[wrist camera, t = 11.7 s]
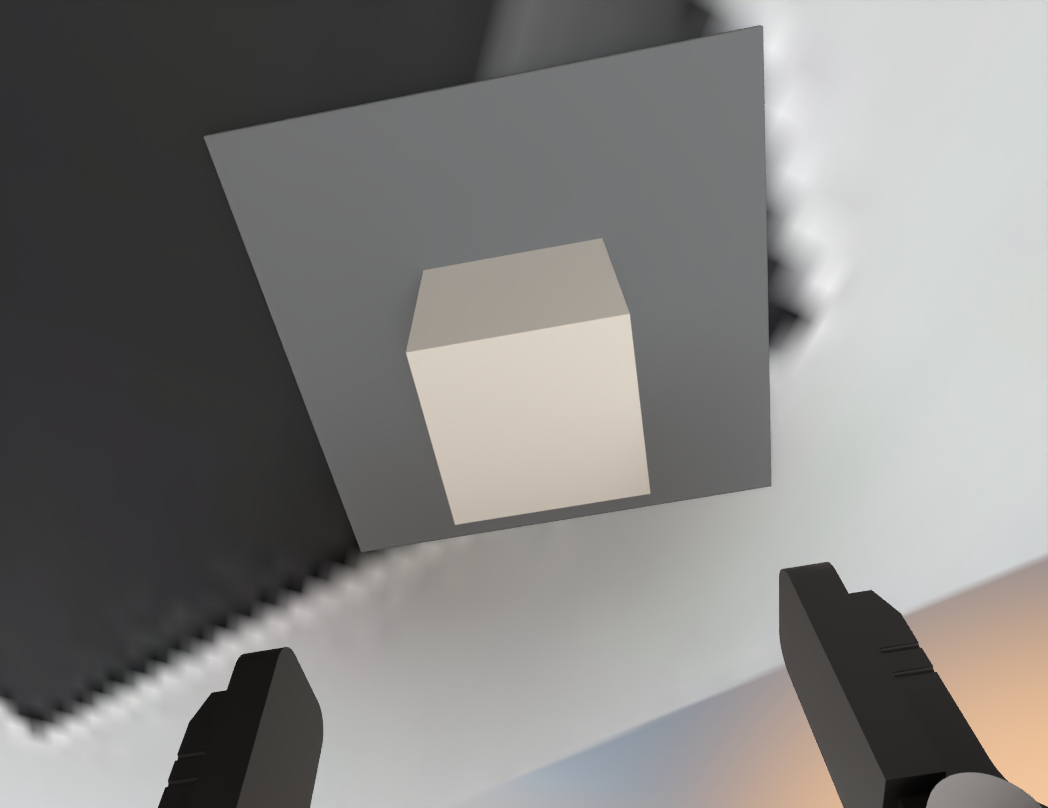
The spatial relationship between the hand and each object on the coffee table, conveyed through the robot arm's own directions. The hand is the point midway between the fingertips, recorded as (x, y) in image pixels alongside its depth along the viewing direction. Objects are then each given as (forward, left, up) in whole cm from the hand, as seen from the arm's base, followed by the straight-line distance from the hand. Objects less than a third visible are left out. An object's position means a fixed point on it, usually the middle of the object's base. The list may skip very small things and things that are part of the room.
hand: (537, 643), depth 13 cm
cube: (0, 0, -12) cm, 12 cm away
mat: (0, 0, -12) cm, 12 cm away
